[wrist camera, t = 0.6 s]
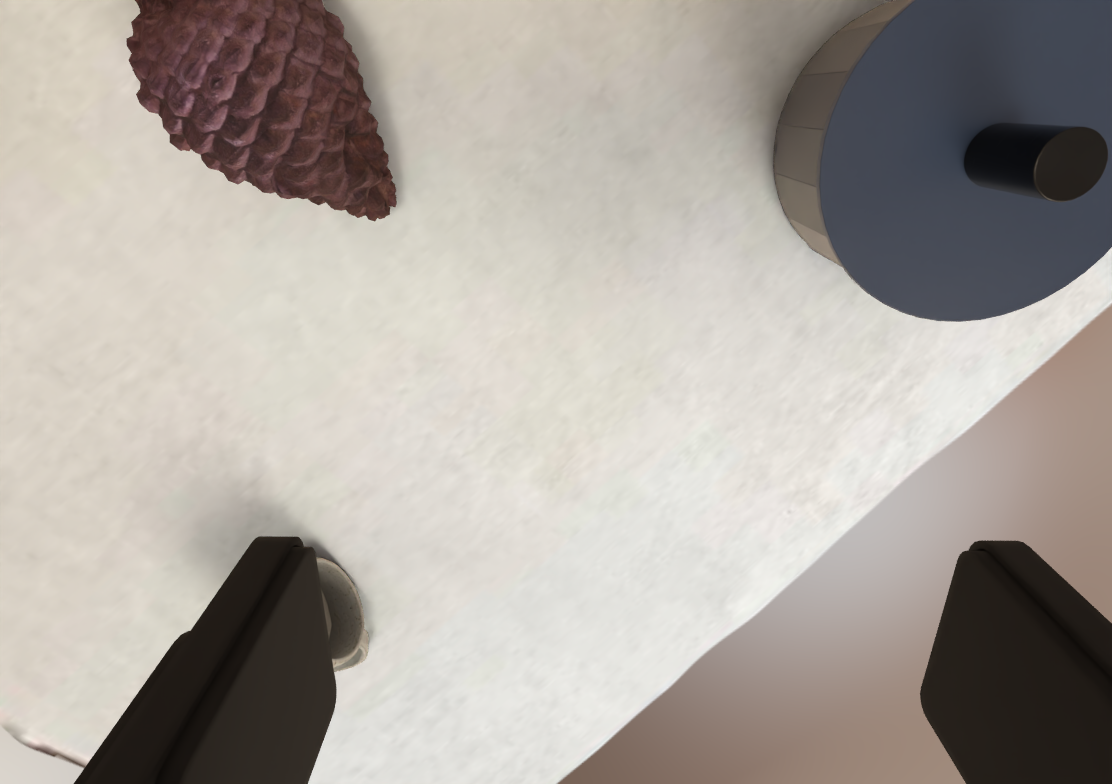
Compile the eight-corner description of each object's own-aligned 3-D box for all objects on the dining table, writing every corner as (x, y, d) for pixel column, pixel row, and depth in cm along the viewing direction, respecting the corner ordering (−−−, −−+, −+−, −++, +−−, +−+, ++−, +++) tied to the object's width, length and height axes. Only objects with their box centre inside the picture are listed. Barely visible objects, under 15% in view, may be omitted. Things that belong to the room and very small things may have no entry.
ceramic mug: (228, 582, 51) (178, 660, 44) (314, 535, 50) (275, 609, 43) (318, 671, 55) (284, 756, 48) (400, 631, 54) (378, 713, 47)
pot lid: (755, 95, 31) (800, 94, 26) (1108, -129, 28) (1248, -186, 22) (883, 369, 36) (943, 418, 31) (1192, 208, 33) (1322, 231, 28)
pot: (728, 99, 38) (772, 100, 31) (989, -67, 35) (1112, -114, 28) (831, 315, 43) (892, 362, 36) (1068, 185, 40) (1192, 206, 32)
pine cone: (473, 138, 39) (401, 251, 33) (365, 195, 45) (287, 299, 39) (222, -207, 29) (56, -132, 23) (124, -77, 35) (-27, 9, 29)
